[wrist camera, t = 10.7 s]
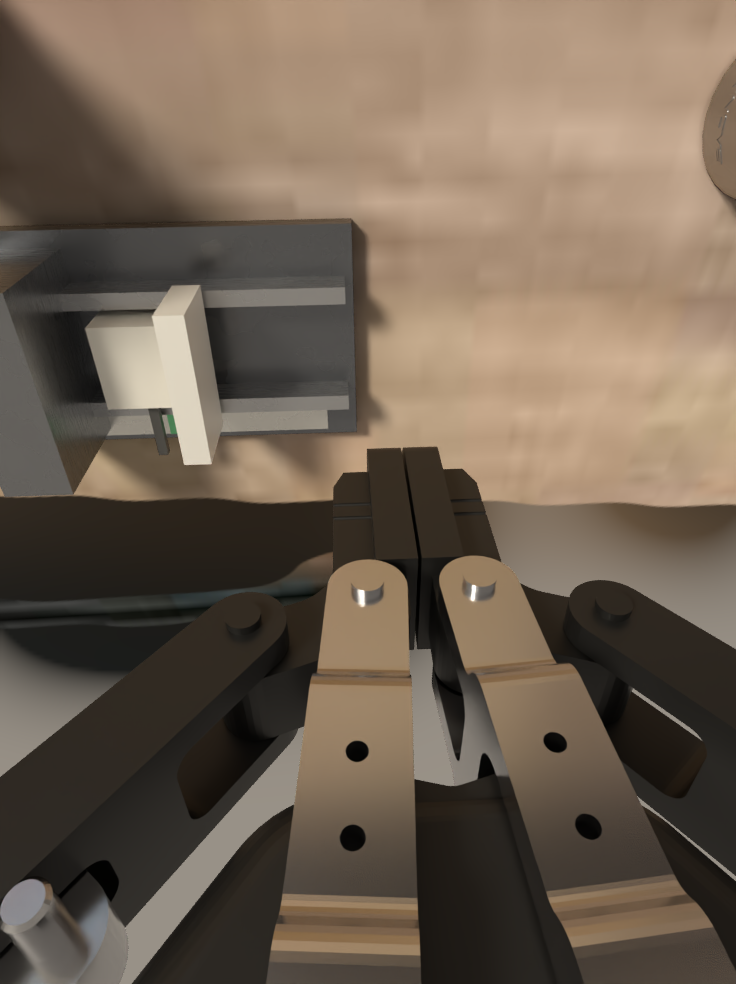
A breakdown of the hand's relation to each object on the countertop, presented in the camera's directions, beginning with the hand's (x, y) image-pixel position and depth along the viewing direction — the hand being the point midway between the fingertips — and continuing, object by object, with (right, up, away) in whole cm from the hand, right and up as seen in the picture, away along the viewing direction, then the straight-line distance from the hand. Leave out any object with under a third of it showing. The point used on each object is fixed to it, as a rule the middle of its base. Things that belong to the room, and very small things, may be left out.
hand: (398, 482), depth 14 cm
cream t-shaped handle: (-14, +8, +27) cm, 32 cm away
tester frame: (-12, +10, +28) cm, 32 cm away
